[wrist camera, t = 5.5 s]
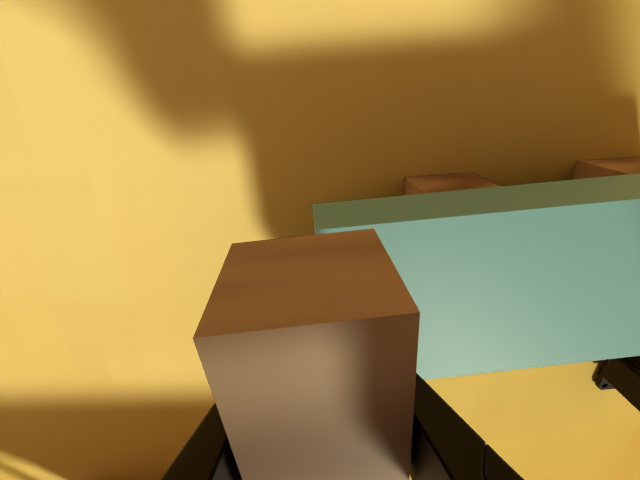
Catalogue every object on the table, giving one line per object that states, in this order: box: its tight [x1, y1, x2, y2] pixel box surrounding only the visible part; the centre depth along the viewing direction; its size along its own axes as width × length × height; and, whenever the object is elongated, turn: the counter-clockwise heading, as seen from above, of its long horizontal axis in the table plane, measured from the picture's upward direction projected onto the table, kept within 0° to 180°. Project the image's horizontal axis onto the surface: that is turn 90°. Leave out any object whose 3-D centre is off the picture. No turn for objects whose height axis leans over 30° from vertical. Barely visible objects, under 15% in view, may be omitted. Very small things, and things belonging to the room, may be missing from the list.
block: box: [193, 228, 420, 480], centre depth 9 cm, size 8×4×4 cm, turn 5°
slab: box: [312, 173, 640, 380], centre depth 16 cm, size 18×9×3 cm, turn 94°
